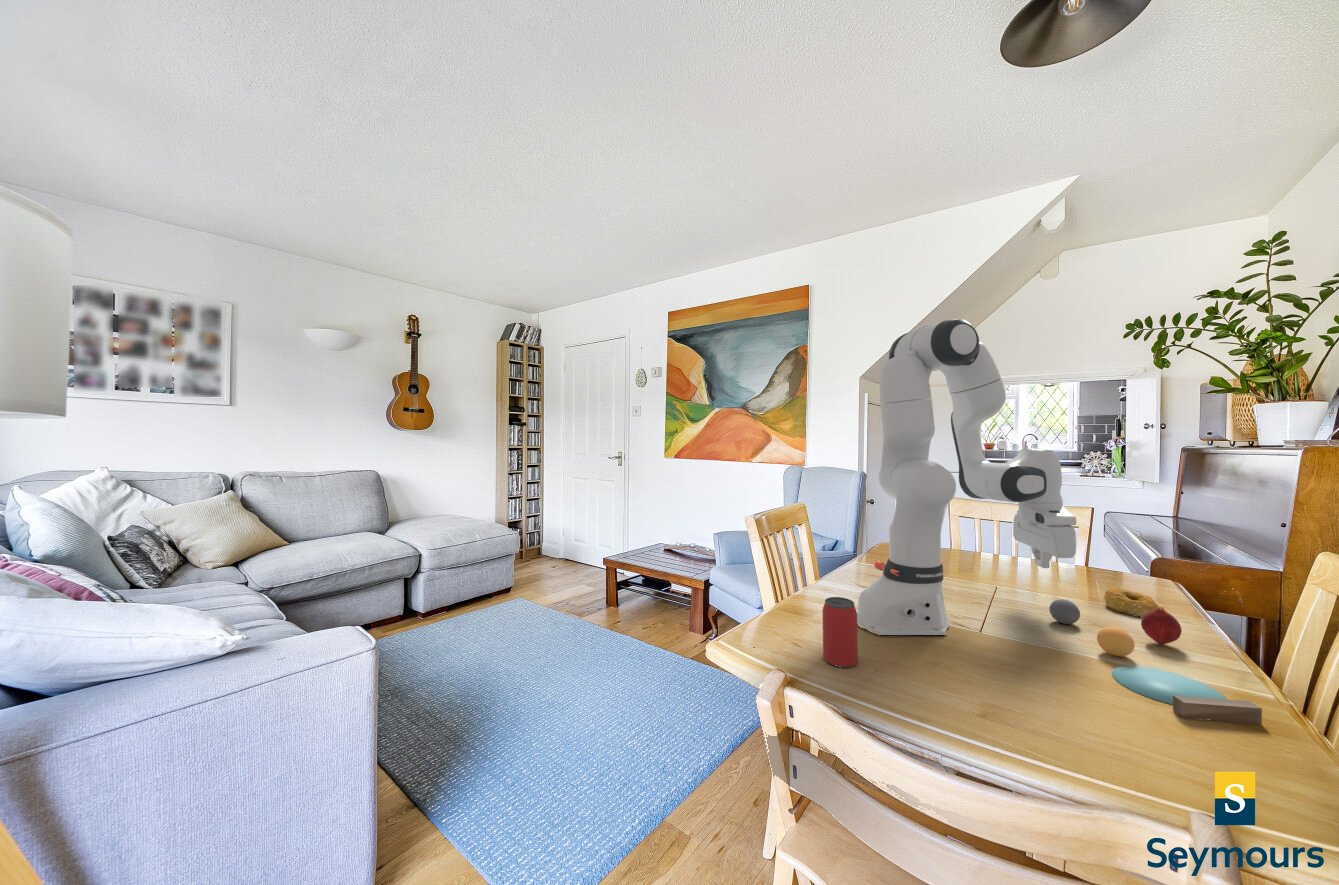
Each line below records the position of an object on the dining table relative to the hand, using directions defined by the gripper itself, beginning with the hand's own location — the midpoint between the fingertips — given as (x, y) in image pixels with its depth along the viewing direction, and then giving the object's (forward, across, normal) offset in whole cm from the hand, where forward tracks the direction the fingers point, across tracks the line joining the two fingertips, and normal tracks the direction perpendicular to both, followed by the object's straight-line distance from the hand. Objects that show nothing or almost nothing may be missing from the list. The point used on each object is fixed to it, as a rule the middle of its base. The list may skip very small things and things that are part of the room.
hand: (1042, 566), depth 119 cm
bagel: (+12, -1, +20) cm, 23 cm away
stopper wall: (+10, +47, -1) cm, 48 cm away
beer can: (+9, +36, -55) cm, 66 cm away
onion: (+11, +19, +12) cm, 25 cm away
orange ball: (+8, +26, -1) cm, 27 cm away
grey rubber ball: (+8, +10, -1) cm, 12 cm away
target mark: (+10, +38, -1) cm, 39 cm away
